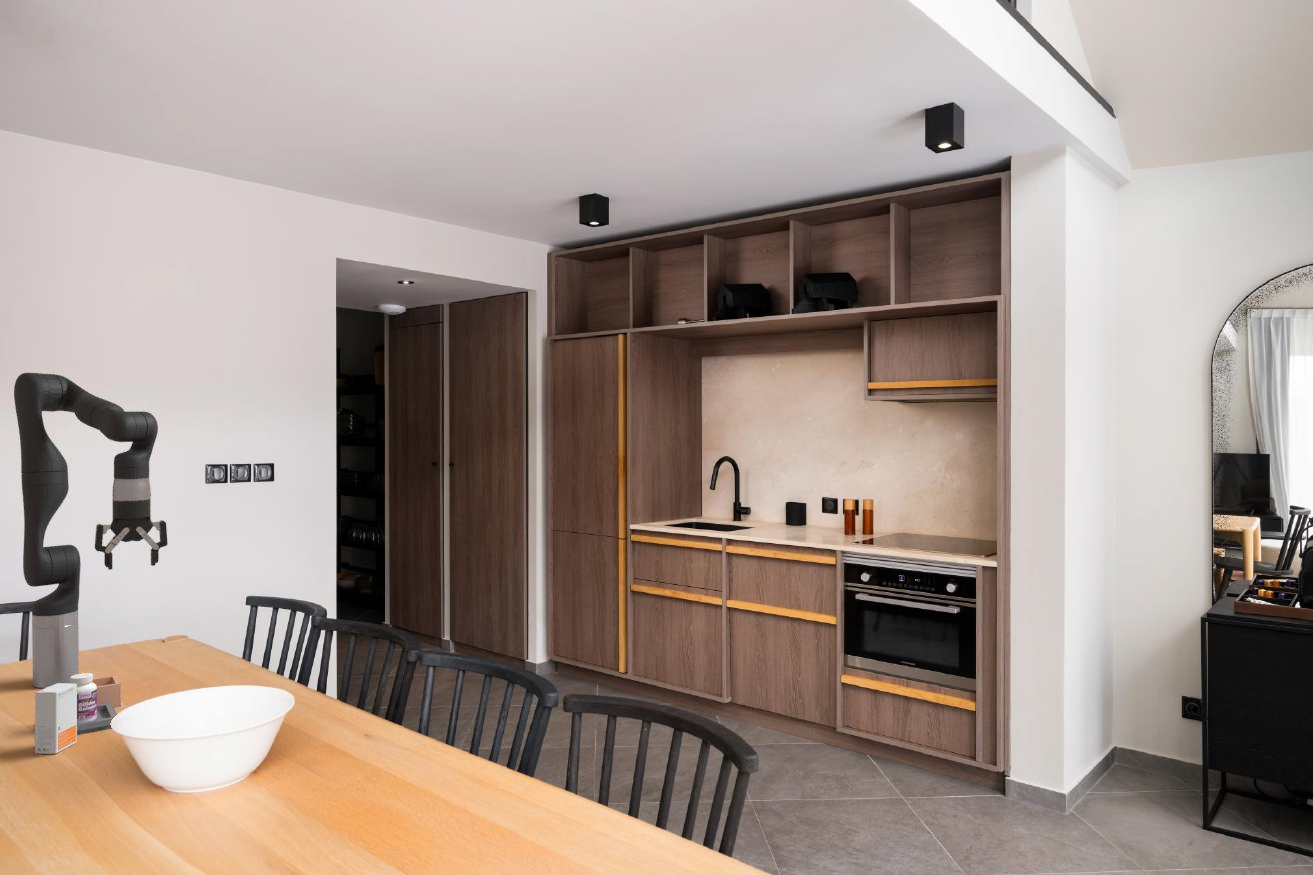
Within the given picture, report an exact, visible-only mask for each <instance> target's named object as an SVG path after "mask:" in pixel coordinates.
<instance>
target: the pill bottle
mask: <svg viewBox="0 0 1313 875" xmlns="http://www.w3.org/2000/svg"><path fill="white" fill-rule="evenodd" d="M93 679H94V674H93V673H92V672H83V673H79V674H76V675H73V676H71V677H70V683H72V684H77V723H82V722H87V721H93V720H95V719H96V718H97V686H96V684H94V683H92V681H93Z"/></svg>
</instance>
